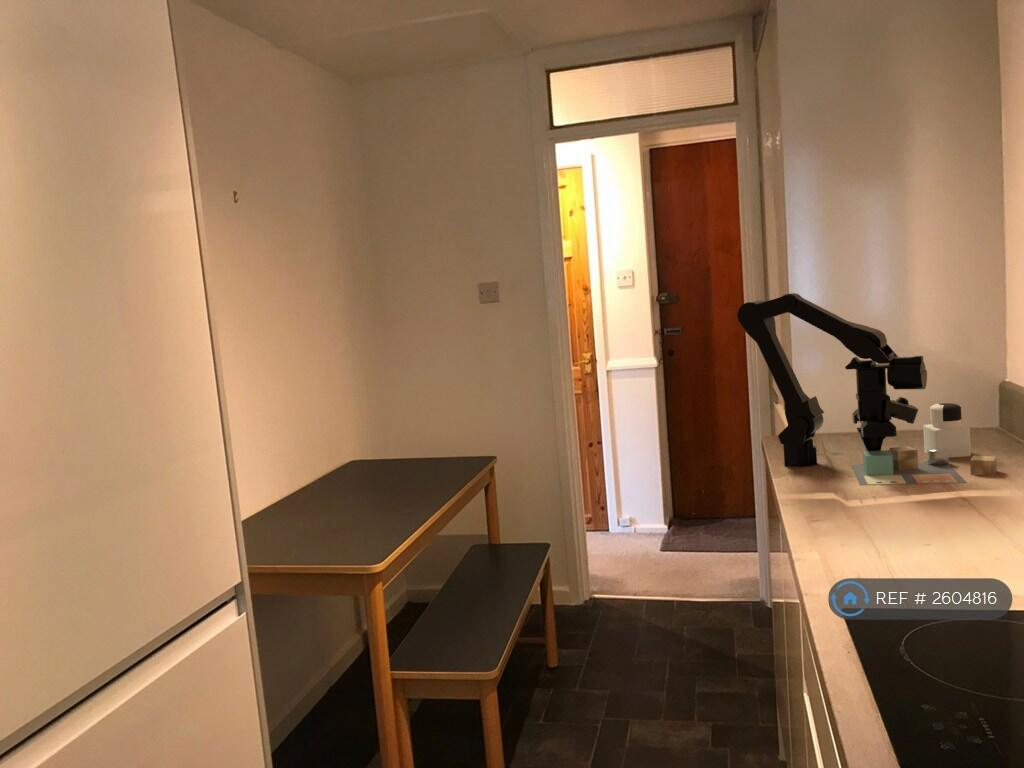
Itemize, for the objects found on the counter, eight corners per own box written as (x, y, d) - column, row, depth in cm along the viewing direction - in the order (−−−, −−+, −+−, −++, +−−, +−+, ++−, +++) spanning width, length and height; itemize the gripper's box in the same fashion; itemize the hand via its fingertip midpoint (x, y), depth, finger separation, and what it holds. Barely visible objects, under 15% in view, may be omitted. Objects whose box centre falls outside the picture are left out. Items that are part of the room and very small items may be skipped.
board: (860, 490, 164) (859, 484, 164) (850, 469, 182) (850, 464, 181) (967, 488, 159) (967, 482, 159) (947, 466, 176) (947, 461, 176)
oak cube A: (898, 470, 173) (898, 451, 172) (890, 466, 177) (889, 447, 176) (918, 468, 173) (917, 449, 172) (909, 464, 177) (908, 446, 176)
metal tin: (929, 466, 174) (929, 452, 173) (925, 462, 178) (925, 448, 177) (950, 465, 173) (950, 451, 172) (946, 461, 176) (946, 447, 176)
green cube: (866, 475, 171) (866, 456, 171) (863, 469, 176) (862, 451, 175) (893, 474, 170) (892, 455, 169) (889, 469, 175) (888, 450, 174)
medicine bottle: (957, 453, 186) (955, 400, 185) (971, 460, 179) (969, 405, 178) (923, 456, 187) (921, 403, 186) (936, 462, 180) (934, 408, 179)
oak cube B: (970, 460, 164) (993, 460, 162) (973, 455, 168) (996, 456, 165) (970, 479, 165) (994, 481, 162) (973, 475, 168) (996, 476, 166)
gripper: (922, 394, 164) (925, 471, 166) (905, 381, 182) (908, 451, 183) (861, 397, 167) (865, 473, 169) (850, 384, 185) (854, 453, 187)
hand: (875, 462), depth 177 cm, fingers closed
